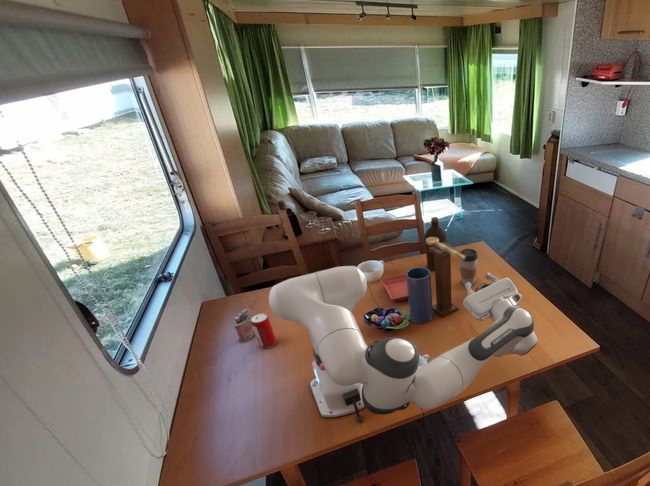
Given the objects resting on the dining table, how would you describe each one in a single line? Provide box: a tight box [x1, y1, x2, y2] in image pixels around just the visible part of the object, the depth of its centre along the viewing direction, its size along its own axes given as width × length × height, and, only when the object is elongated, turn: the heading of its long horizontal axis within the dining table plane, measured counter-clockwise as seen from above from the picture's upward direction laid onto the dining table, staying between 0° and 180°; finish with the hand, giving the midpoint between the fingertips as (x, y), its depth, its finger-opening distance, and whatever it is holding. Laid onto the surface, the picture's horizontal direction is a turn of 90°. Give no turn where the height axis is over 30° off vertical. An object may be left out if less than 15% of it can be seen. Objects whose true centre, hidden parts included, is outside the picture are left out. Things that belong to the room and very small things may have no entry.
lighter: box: [232, 308, 256, 343], centre depth 139 cm, size 8×3×10 cm, turn 168°
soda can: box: [251, 313, 277, 349], centre depth 134 cm, size 6×6×12 cm
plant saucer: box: [381, 273, 433, 303], centre depth 167 cm, size 18×18×3 cm
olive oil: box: [423, 216, 448, 272], centre depth 179 cm, size 11×11×25 cm
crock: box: [405, 266, 434, 325], centre depth 146 cm, size 9×9×20 cm
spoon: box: [426, 237, 466, 260], centre depth 139 cm, size 21×5×1 cm, turn 41°
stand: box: [429, 242, 459, 318], centre depth 148 cm, size 8×8×28 cm
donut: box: [474, 282, 493, 292], centre depth 163 cm, size 12×12×4 cm
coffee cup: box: [459, 248, 479, 285], centre depth 170 cm, size 8×8×15 cm
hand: (477, 278), depth 130 cm, fingers open, 8 cm apart
